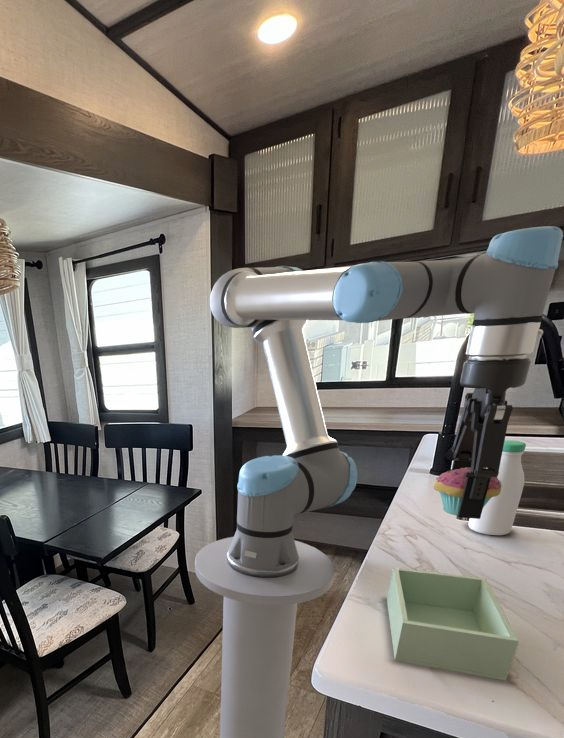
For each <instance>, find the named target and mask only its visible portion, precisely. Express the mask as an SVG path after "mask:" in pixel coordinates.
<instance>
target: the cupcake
mask: <svg viewBox="0 0 564 738" xmlns="http://www.w3.org/2000/svg"><path fill="white" fill-rule="evenodd" d="M467 472H468V473H470V472H471V468H470V467H469V468H468V467H465V468H460V469H456V470H452V469H451V470H447V471H445V472H443V473H440V474H439V475H438V477H436V478H435V482H434V484H433V489H434V490H435V491H437V492H438V493H439V495H440V497H441V501H442V509H443V511H444V512H445V513H447V514H449V515H453V516H457V517H458V512H459V507H460V503H461V499H462V495H463V491H464V486H465V482H466V478H467V477H464V474H465V473H467ZM500 482H501V481H499V480H498V478H497V477H492V478H491V479H490V483H489V486H488V490H487V494H486V498H485V502H484V506H485V505H486V504H487V502H488V501H489V500H490V499H491V498H492V497H495V496H498V495H499V494H500V492H501V483H502V482H501V483H500ZM484 506H483V508H484Z"/></svg>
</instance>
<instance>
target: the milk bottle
mask: <svg viewBox="0 0 564 738" xmlns="http://www.w3.org/2000/svg"><path fill="white" fill-rule="evenodd" d="M526 446H527V444H526V442H524V441H519V440H505V441H504V446H503V451H502V457H501V462H500V467H499V474H498V476H497V478H498V480H499V481H501V482H502V483H501V482H500V483H501V492H500V494H499V495H498V496H495V497H492V498H491V499H490V500H489V501H488V502H487V504H486V505H485V506H484V508H483V510H482V513H481V517H480V519H475V518H468V527H469V529H470V530H472V531H474V532H476V533H479V534H483V535H488V536H489V535H491V536H504V535H508V534H509V533H511V531H512V528H513V525H514V522H515V519H516V515H517V511H518V508H519V504H520V501H521V497H522V494H523V490H524V486H525V471H524V469H523V465H522V455H524V453H525V450H526Z"/></svg>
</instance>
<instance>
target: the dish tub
mask: <svg viewBox="0 0 564 738" xmlns="http://www.w3.org/2000/svg"><path fill="white" fill-rule="evenodd" d="M390 575H391V576H390V581H389V587H388V591H387V596H386V604H387V605H386V606H387V611H388V613H387V614H388V621H389V627H390V634H391V642H392V650H393V658H394V661H397V662H403V663H407V664H411V665H418V666H423V667H424V666H425V667H429V668H435V669H440V670H444V671H450V672H456V673H459V674H460V673H462V674H466V675H467V674H468V675H471V676H476V677H477V676H478V677H483V678H488V679H492V680H498V681H503V682H507V678H508V675H509V673H510V669H511V666H512V663H513V660H514V657H515V654H516V651H517V648H518V646H519V643H520V640H519V638H518V636H517V634H516V632H515V630H514V629H513V627H512V625H511V623H510V621H509V620H508V618H507V615H506V614H505V613H506V612H505V611H504V609H503V608H502V606H501V604H500V602H499V600H498V598H497V596H496V595H495V593H494V590H493V589H492V587H491V584H490V583H489V581H488V578H485V577H478V576H469V575H462V574H461V575H460V574H453V573H452V574H451V573H443V572H435V571H426V570H417V569H409V568H399V567H392V571H391V574H390Z"/></svg>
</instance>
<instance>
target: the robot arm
mask: <svg viewBox="0 0 564 738" xmlns="http://www.w3.org/2000/svg"><path fill="white" fill-rule="evenodd" d="M563 237H564V233H563V230H562V229H561V228H560V227H558V226H555V225H554V226H553V225H552V226H551V225H548V226H536V227H534V226H533V227H527V228H521V229H520V228H519V229H514V230H510V231H506V232H502V233H498V234H496V235H495V236H493V237H492V239H491V240H490V242H489V243H488V244H489V245H488V248H487V249H486V252H485V253H482V254H477V255H473V256H467V257H458V258H452V259H443V260H441V259H438V260H411V261H383V260H382V261H380V260H378V261H367V262H364V263H358V264H355V265H346V266H337V267H326V268H317V269H310V270H309V269H308V270H303V269H301V268H299V267H296V266H289V265H278V266H274V267H273V266H271V267H238V268H235V269H231V270H229V271H227V272H226V273H224V274H222V275H221V276H220V277H219V278H218V279H217V280H216V282H215V283H214V285H213V287H212V289H211V291H210V297H209V307H210V311H211V314H212V316H213V317H214V319H215V320H216V321H217V322H218V323H219V324H221V325H222V326H225V327H228V328H233V329H240V328H241V329H242V328H243V329H244V328H250V329H251V332H252V333H251V334H252V336H253V340H254V341H255V342H256V343H258V344H260V345H261V346H262V347H263V352H264V356H265V360H266V365H267V369H268V372H269V376H270V381H271V386H272V389H273V394H274V398H275V402H276V407H277V410H278V411H277V412H278V415H279V419H280V423H281V427H282V431H283V437H284V439H285V440H284V441H285V444H286V449H285V450H284V452H283V453H282V454H276V455H275V454H274V455H271V456H270V455H264V456H260V457H255V458H253V459H251V460H249V461H247V462H245V463H244V464H243V465H242V466H241V468H240V470H239V474H238V482H237V486H236V487H237V510H236V511H237V512H236V513H237V514H236V531H235V532H234V535H233V537H234V538H233V540H232V543H231V545H230V548H229V550H228V557H227V561H228V564H229V566H230V567H231V568H232V569H234V570H235V571H237V572H239V573H242V574H244V575H248V576H252V577H258V578H277V577H282V576H286V575H289V574H291V573H293V572H294V571H295V570H296V569H297V567H298V560H299V556H298V553H297V549H296V545H295V542H294V540H295V537H294V534H293V524H294V517H295V516H296V515H299V514H305V513H307V512H311V511H312V512H313V511H316V510H320V509H326V508H331V507H333V506H335V505H339V504H341V503H342V502H343V503H344V502H345V501H346V500H347V499H349V498H350V496H351V495H352V493H353V491H354V490H355V488H356V486H357V483H358V469H357V465H356V463H355V461H354V459H353V458H352V457H351V456H349V454H348V453H346V452H344V451H340V447H339V444H338V440H336V439H334V438H332V437H330V436H329V435H328V430H327V425H326V422H325V418H324V414H323V410H322V406H321V401H320V397H319V394H318V390H317V383H316V381H315V377H314V372H313V368H312V364H311V359H310V355H309V351H308V347H307V343H306V338H305V334H304V328H305V327H306V326H307V323H308V321H345V322H348V323H355V324H369V323H374V322H381V321H390V320H403V319H419V318H424V319H425V318H430V317H440V316H442V317H443V316H452V315H465V314H466V315H470V314H473V321H472V326H471V327H470V332H469V336H468V341H467V346H466V352H465V355H466V356H467V357H469V358H468V359H466V361H464V362H463V366H462V371H461V374H460V375H461V376H460V381H459V384H460V386H461V387H464V388H468V389H473V392H466V394H465V396H464V403H463V409H462V412H461V416H460V419H459V423H458V427H457V430H456V434H455V437H454V441H453V444H452V446H451V451H452V453H453V455H452V456H453V461H452V466H451V470H456V469H460V468H465V467H468V468H469V467H470V468H471V472H470V473H468V472H467V473H465V474H464V477H467V478H466V482H465V486H464V491H463V495H462V499H461V503H460V507H459V512H458V516H457V517H458V518H459V519H461V518H462V519H470V518H475V519H480V517H481V513H482V510H483V506H484V502H485V498H486V494H487V490H488V486H489V483H490V479H491V478H492V477H497V476H498V474H499V467H500V462H501V457H502V451H503V446H504V441H506V435H507V430H508V425H509V421H510V418H511V414H512V413H513V409H514V408H513V405H512V404H508V401H507V400H506V395H507V390H508V389H510V388H511V389H515V388H520V387H522V386H524V385H525V384H526V382H527V378H528V374H529V370H530V367H531V363H532V360H530V358H529V357H527V356H528V355H530V354H532V353H533V352H534V350H535V346H536V342H537V338H540V337H542V336H543V334H544V330H543V329H540V327H541V323H542V320H543V315H544V311H545V307H546V304H547V301H548V297H549V295H550V294H549V293H550V290H551V286H552V283H553V280H554V276H555V273H556V270H557V269H558V268H559V257H560V252H561V247H562V242H563Z"/></svg>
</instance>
